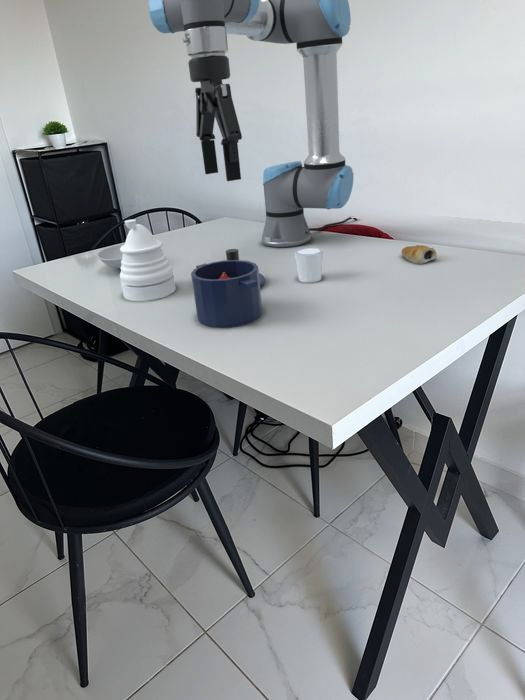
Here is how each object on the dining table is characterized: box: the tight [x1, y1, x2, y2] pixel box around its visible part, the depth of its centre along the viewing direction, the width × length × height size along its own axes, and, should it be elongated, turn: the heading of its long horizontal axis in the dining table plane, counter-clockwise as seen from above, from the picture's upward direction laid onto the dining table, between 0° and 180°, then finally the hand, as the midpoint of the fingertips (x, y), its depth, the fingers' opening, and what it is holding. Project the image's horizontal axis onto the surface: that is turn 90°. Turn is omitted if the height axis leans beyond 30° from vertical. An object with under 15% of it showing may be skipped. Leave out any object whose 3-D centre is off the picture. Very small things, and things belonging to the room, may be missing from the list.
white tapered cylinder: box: [294, 247, 324, 284], centre depth 124 cm, size 7×7×7 cm
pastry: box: [400, 244, 437, 265], centre depth 133 cm, size 9×7×4 cm
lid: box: [225, 248, 266, 286], centre depth 125 cm, size 15×15×9 cm
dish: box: [95, 243, 125, 269], centre depth 147 cm, size 18×14×5 cm
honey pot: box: [119, 219, 177, 302], centre depth 123 cm, size 13×13×18 cm
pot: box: [190, 259, 263, 329], centre depth 107 cm, size 14×19×10 cm
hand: (222, 176), depth 104 cm, fingers open, 13 cm apart
